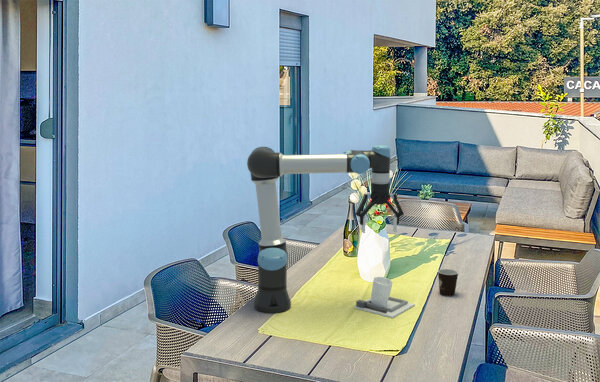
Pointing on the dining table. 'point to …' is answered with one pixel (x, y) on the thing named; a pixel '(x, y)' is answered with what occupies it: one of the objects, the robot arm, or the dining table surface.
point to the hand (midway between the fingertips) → (379, 232)
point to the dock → (385, 307)
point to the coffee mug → (447, 281)
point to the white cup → (381, 291)
